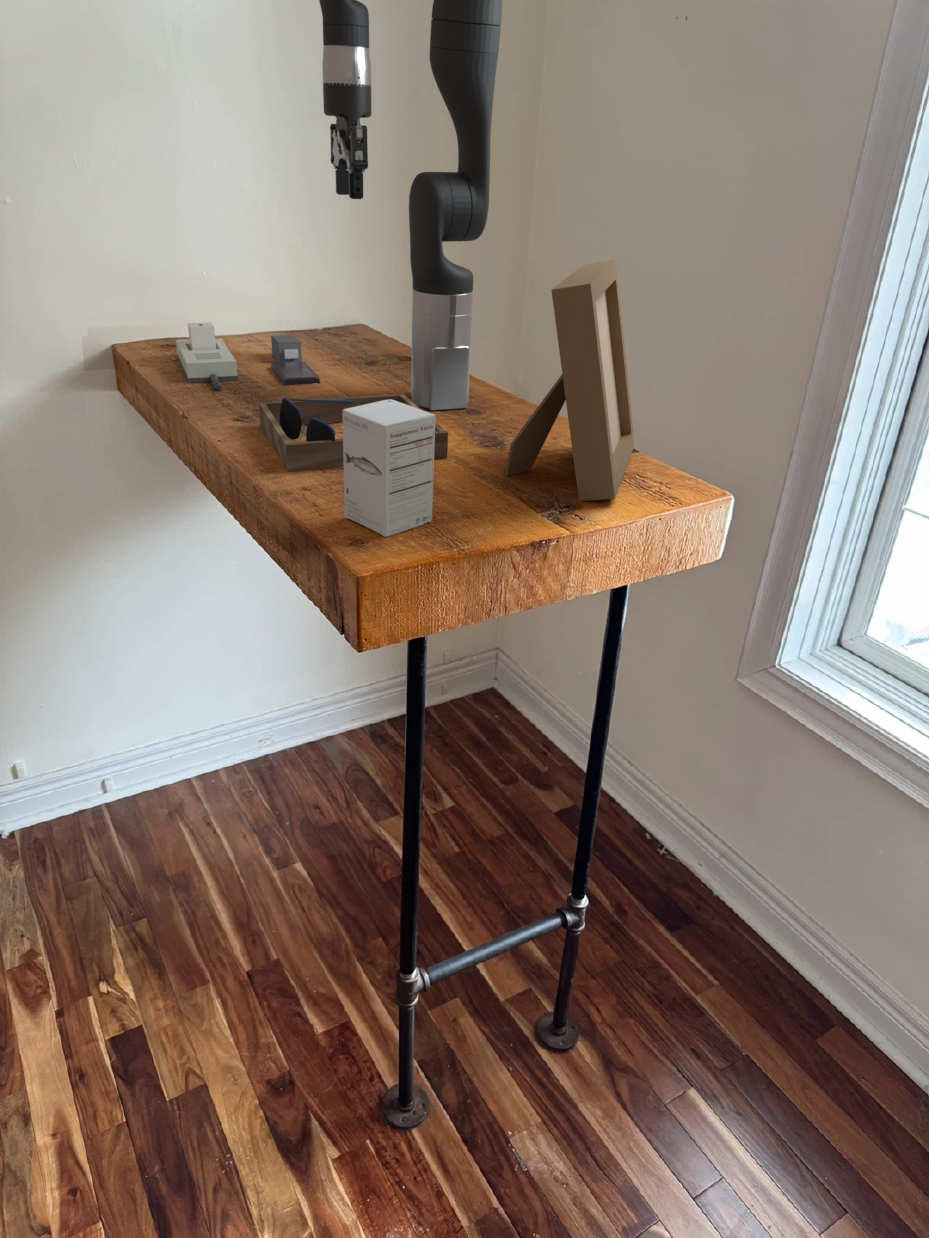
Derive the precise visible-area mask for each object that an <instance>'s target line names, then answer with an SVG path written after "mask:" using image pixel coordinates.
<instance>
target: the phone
mask: <svg viewBox="0 0 929 1238" xmlns="http://www.w3.org/2000/svg"><path fill="white" fill-rule="evenodd" d="M270 369H271V370H272V371H273V372H274V374H275V375H276V376H277V378H278V379H279V380H280V381H281V383H282V384H283V385H284V386H295V385H296V386H297V385H312V384H313V383H318V384H321V379H320V377H319V375H318V374H317V373H316V372H315V371H314V370H313V369H312V368H311V367H310V366H309V365H308V363H306V362H305V361H302V362H283V363H278V362H271V363H270ZM313 385H314V384H313Z"/></svg>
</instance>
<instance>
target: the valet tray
mask: <svg viewBox="0 0 929 1238" xmlns="http://www.w3.org/2000/svg"><path fill="white" fill-rule="evenodd" d="M325 399H345V400H355V401H356V402H320V401H292V400H290V401H291V402H292V403H293V404H295V405H296V406H297V407H298V408H299V409H300V411H301V414H302V419H301V420H302V424H304V423H305V422H308V421H309V420H310V419H311V418H316V419H318V420H321V421H323V422H325V423H328V424H336V423H335V422H342V423H343V412H342V411H343V410H344V409H347V408H351V407H356V406H361V405H365V404H369V403H374V402H378V401H383V400H389V399H392V400H395V401H398V402H400V403H403V404H406V405H409V406H412V407H415V408H417V409H420V410H422V409H421V408H420V406H418V405H415V404H414V403H413V402H412V401H411V398H409V397H408V396H407V395H405V394H404V393H393V394H377V395H376V394H375V395H363V396H362V395H360V396H346V397H345V396H344V397H343V396H342V397H331V398H330V397H329V398H325ZM281 403H282V400H280V401H278V400H277V401H264V402H258V411H259V425H260V428H261V430H262V432H263V433H264V435H265V437H266V438H267V441H269V443H270V445H271V447H272V448H273V450H274V451H275V453H276V455H277V457H278V458H279V460H280V462H281V463H282V465H283V467H284V468H285V470H286V472H287V473H290V472H293V473H294V472H302V471H303V472H304V471H313V470H315V471H316V470H325V469H337V468H344V460H343V438H338V439H337V438H335V441H332V440H322V441H309V442H306V441H298V442H291V439H290V438H288V437H287V436H286V434H285V433H284V431H283V430H282V428H281V424H280V407H281ZM311 420H313V419H311ZM309 422H310V421H309ZM306 424H307V423H306ZM448 446H449V432H448V431H446V429H444V428H443V427H442V426H441V425H440V424H438V423H437V421H435V446H434V460H438V459H439V460H441V459H448V452H449V451H448V449H449V448H448Z"/></svg>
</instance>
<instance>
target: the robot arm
mask: <svg viewBox="0 0 929 1238" xmlns="http://www.w3.org/2000/svg"><path fill="white" fill-rule="evenodd" d="M318 1H319V2H318V3H319V5H320V9H321V14H322V42H323V43H322V44H323V48H322V49H323V52H322V60H321V61H322V64H321V65H322V66H321V67H322V93H323V94H322V97H323V98H322V99H323V114H324V115H325V116H328V117H335V118H336V120H335V123H330V125H329V129H330V133H329V134H330V163H331V165H333V169H334V170H335V171H334V172H335V193H336V194H337V195H339V196H349V198H350V199H351V200H352V199H353V200H362V199H363V198H364V173H365V172H366V170H368V168H369V159H368V158H369V156H368V154H369V153H368V128H367V125H361V121H360V119H361V118H363V119H365V118H367V119H369V118H371V117H372V115H373V114H372V111H373V109H372V108H373V107H372V64H371V63H372V62H371V53H370V15H369V9H368V7H367V6H366V5H365V4H364V3H362V2H361V1H358V0H318ZM502 11H503V0H433V2H432V9H431V21H430V23H431V24H430V37H429V38H430V39H429V63H430V68H431V72H432V76H433V78H434V81H435V83H436V86H437V88H438V90H439V91H438V92H439V93H440V95H441V98H442V100H443V101H444V104H445V106H446V108H447V110H448V112H449V115H450V118H451V120H452V123H453V125H454V129H455V134H456V140H457V152H458V155H457V156H458V160H457V161H458V162H457V165H458V166H457V171H456V172H455V171H454V172H453V171H423V172H420V173H418V174H417V175H416V176H415V177H414V178H413V180H412V183H411V185H410V186H411V187H410V190H409V196H408V198H409V199H408V221H409V223H408V225H409V226H408V227H409V245H410V247H409V250H410V252H409V254H410V260H409V261H410V268H411V269H410V270H411V277H412V298H411V299H412V305H411V306H412V309H411V311H412V313H411V363H410V364H411V371H410V375H411V380H410V382H411V383H410V384H411V385H410V387H411V388H410V389H411V390H410V393H411V394H410V400H411V401H412V402H413V403H414V404H415V405H417V406H418V407H422V408H426V409H429V410H430V411H438V410H439V411H440V410H441V411H442V410H453V409H454V410H455V409H467V408H468V403H469V391H470V388H469V387H470V367H471V366H470V364H471V360H470V359H471V343H472V339H471V337H472V320H473V319H472V318H473V317H472V316H473V301H474V300H473V298H474V297H473V296H474V274H473V272H472V271H471V270H470V269H469V268H466V267H463V266H460V265H459V264H456V263H454V262H452V261H451V260H450V259H448V258H447V257H446V256H445V254H444V251H443V249H444V248H443V243H444V242H449V243H451V242H472V241H476V240H478V239H479V238H480V237H481V236H482V235H483V233H484V231H485V228H486V225H487V220H488V216H489V215H488V214H489V207H490V204H489V203H490V183H491V181H490V180H491V179H490V178H491V135H492V134H491V133H492V119H493V104H494V94H495V85H496V75H497V67H498V59H499V49H500V40H501V39H500V38H501V37H500V36H501V26H502V15H503V14H502Z"/></svg>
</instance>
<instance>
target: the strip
mask: <svg viewBox="0 0 929 1238" xmlns="http://www.w3.org/2000/svg"><path fill="white" fill-rule="evenodd" d="M215 340H216V349H212V350H190V341H189V338H188V339H175V342H176V343H175V344H176V345H175V346H176V353H177V358H178V361H179V364H180V365H181V368H182V370H183V372H184V375H185V378H186V380H187V382H188V384H197V383H211V384H212V386H213V387H214V388H213V389H214V390H216V391H221V390H222V388H223V385H222V384H221V382H235V381H239V378H238V376H239V375H238V366H237V360H236V359H235V357H234V355H233V354H232V352H231V351H230V349H229V348H228V346H227V344H226V343H225V342H224V340H223V339H222V337H221V338H216V337H215Z"/></svg>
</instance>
